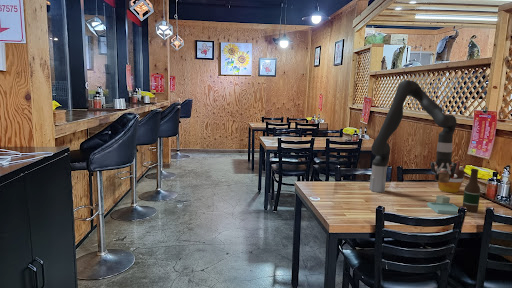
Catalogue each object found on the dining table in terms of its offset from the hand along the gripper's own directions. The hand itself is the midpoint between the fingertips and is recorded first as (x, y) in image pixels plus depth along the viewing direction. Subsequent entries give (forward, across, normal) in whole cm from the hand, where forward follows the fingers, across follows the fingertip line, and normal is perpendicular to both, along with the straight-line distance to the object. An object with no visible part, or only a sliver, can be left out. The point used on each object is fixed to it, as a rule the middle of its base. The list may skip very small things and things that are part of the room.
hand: (442, 180), depth 195 cm
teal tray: (+17, +2, -1) cm, 17 cm away
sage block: (+17, +5, +9) cm, 20 cm away
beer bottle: (+17, +16, 0) cm, 24 cm away
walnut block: (+1, 0, 0) cm, 1 cm away
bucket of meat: (+16, +24, +42) cm, 51 cm away
